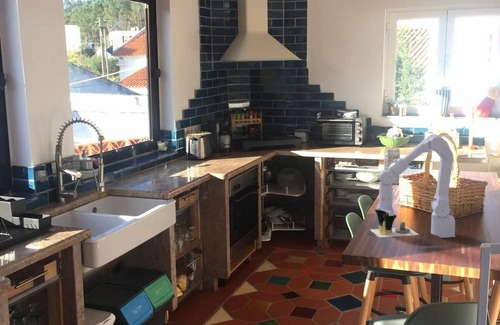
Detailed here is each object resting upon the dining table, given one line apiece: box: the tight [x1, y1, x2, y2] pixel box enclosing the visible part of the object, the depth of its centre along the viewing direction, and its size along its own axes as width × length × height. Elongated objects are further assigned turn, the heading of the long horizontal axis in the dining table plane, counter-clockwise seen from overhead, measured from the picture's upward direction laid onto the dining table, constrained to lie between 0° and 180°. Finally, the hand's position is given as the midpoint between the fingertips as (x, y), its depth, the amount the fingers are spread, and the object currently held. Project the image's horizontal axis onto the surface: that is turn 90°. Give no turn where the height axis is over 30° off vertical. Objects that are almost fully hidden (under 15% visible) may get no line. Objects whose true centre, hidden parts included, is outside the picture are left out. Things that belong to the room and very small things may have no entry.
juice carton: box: [383, 144, 401, 185], centre depth 350 cm, size 9×8×24 cm
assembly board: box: [369, 221, 420, 238], centre depth 247 cm, size 18×12×6 cm, turn 98°
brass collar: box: [377, 223, 393, 235], centre depth 247 cm, size 5×5×4 cm
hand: (385, 227), depth 247 cm, fingers open, 7 cm apart
